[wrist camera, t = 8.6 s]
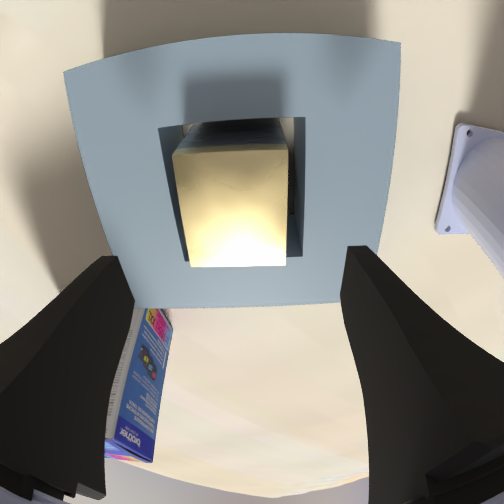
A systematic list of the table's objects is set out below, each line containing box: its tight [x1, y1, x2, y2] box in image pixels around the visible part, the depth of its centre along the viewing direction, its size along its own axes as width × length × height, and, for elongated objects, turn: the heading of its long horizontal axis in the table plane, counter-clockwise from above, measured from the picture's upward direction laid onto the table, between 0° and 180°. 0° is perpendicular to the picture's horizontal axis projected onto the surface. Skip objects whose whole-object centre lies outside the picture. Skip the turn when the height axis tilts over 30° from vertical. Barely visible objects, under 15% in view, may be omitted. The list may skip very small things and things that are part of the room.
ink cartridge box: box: [104, 308, 173, 463], centre depth 20 cm, size 10×6×14 cm, turn 104°
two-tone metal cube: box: [172, 117, 288, 267], centre depth 14 cm, size 4×5×6 cm
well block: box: [63, 33, 401, 308], centre depth 16 cm, size 14×14×4 cm
